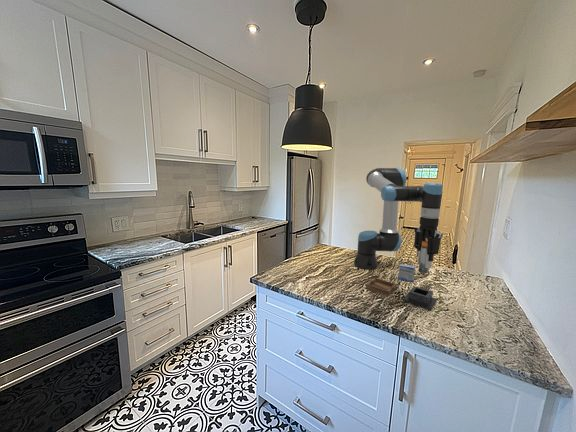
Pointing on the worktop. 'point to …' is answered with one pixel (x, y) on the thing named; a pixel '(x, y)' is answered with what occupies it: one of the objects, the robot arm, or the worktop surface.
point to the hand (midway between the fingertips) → (423, 265)
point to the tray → (381, 286)
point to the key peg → (423, 257)
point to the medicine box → (406, 272)
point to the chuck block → (420, 298)
